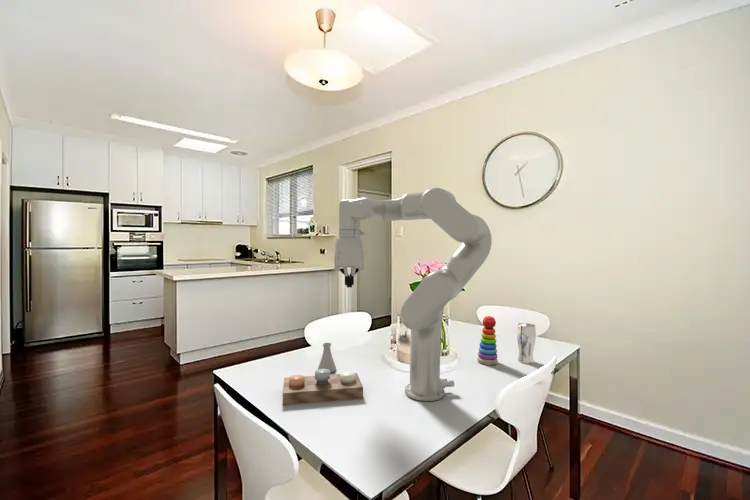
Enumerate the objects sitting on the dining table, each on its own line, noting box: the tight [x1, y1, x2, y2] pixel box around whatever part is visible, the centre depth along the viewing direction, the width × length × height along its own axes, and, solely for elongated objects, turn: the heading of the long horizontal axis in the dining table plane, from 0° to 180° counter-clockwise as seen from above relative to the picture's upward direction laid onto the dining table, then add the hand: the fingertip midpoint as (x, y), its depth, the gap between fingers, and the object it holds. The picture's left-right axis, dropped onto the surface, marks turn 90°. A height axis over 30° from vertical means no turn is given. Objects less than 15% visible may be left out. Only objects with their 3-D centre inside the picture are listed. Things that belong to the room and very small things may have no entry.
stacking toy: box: [476, 315, 499, 366], centre depth 145 cm, size 8×8×19 cm
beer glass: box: [516, 322, 537, 365], centre depth 146 cm, size 7×7×15 cm
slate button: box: [314, 368, 331, 385], centre depth 114 cm, size 5×5×6 cm
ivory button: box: [339, 371, 356, 383], centre depth 116 cm, size 5×5×6 cm
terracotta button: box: [288, 374, 305, 387], centre depth 113 cm, size 5×5×6 cm
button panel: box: [282, 372, 364, 406], centre depth 114 cm, size 24×12×4 cm, turn 102°
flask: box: [317, 342, 337, 374], centre depth 134 cm, size 7×7×10 cm
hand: (349, 286), depth 127 cm, fingers closed
